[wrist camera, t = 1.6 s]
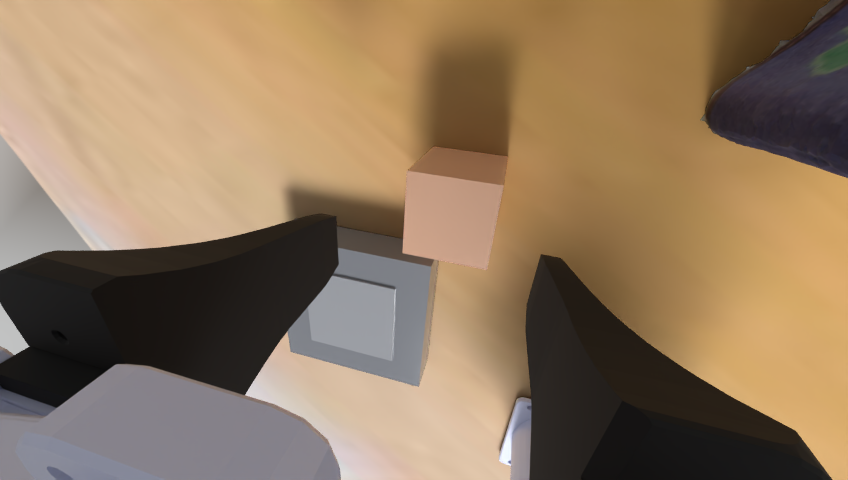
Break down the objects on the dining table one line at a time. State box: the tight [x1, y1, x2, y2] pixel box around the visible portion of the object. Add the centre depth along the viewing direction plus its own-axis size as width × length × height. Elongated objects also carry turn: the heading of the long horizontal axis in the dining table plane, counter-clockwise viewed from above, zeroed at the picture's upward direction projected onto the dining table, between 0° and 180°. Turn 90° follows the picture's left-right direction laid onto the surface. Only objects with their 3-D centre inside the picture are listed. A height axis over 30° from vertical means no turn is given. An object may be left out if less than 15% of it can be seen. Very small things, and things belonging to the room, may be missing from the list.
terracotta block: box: [402, 146, 508, 270], centre depth 17 cm, size 4×4×5 cm
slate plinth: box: [288, 219, 439, 387], centre depth 23 cm, size 10×10×3 cm
